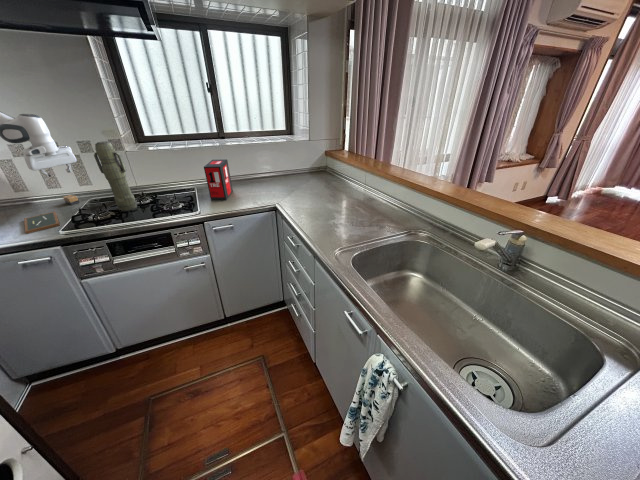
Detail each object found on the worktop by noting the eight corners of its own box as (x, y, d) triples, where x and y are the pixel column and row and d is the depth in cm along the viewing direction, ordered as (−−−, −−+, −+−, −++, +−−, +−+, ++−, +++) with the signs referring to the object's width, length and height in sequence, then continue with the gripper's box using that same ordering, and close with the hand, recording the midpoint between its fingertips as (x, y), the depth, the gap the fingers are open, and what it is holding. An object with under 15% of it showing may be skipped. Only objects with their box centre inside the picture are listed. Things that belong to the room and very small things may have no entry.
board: (25, 220, 135) (23, 218, 135) (56, 213, 143) (55, 211, 142) (26, 233, 123) (24, 231, 122) (60, 225, 130) (58, 223, 130)
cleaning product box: (226, 200, 158) (219, 166, 148) (211, 200, 157) (203, 166, 147) (232, 190, 172) (227, 159, 162) (218, 191, 172) (212, 159, 162)
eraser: (66, 203, 155) (62, 196, 153) (73, 201, 158) (70, 194, 156) (71, 205, 152) (68, 198, 150) (79, 202, 156) (76, 196, 154)
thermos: (137, 210, 146) (112, 143, 128) (113, 212, 144) (84, 144, 126) (142, 204, 153) (119, 140, 136) (119, 206, 151) (93, 141, 133)
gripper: (65, 144, 147) (77, 169, 154) (17, 151, 131) (33, 179, 138) (72, 145, 145) (83, 170, 152) (24, 152, 129) (39, 180, 136)
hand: (59, 174), depth 145 cm, fingers open, 8 cm apart
